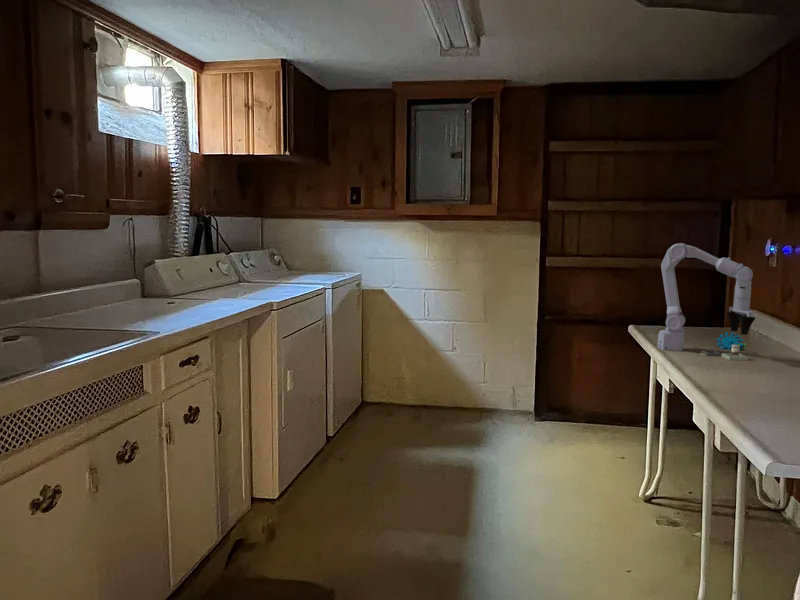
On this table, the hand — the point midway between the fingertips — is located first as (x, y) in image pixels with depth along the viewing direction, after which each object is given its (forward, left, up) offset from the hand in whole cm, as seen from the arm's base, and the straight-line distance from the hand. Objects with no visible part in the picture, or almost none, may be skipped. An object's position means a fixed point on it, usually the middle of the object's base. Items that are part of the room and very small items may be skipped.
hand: (739, 332), depth 263 cm
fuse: (-4, -5, -10) cm, 12 cm away
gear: (+5, +16, -11) cm, 20 cm away
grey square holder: (-10, +2, -10) cm, 14 cm away
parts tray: (-4, -5, -10) cm, 12 cm away
